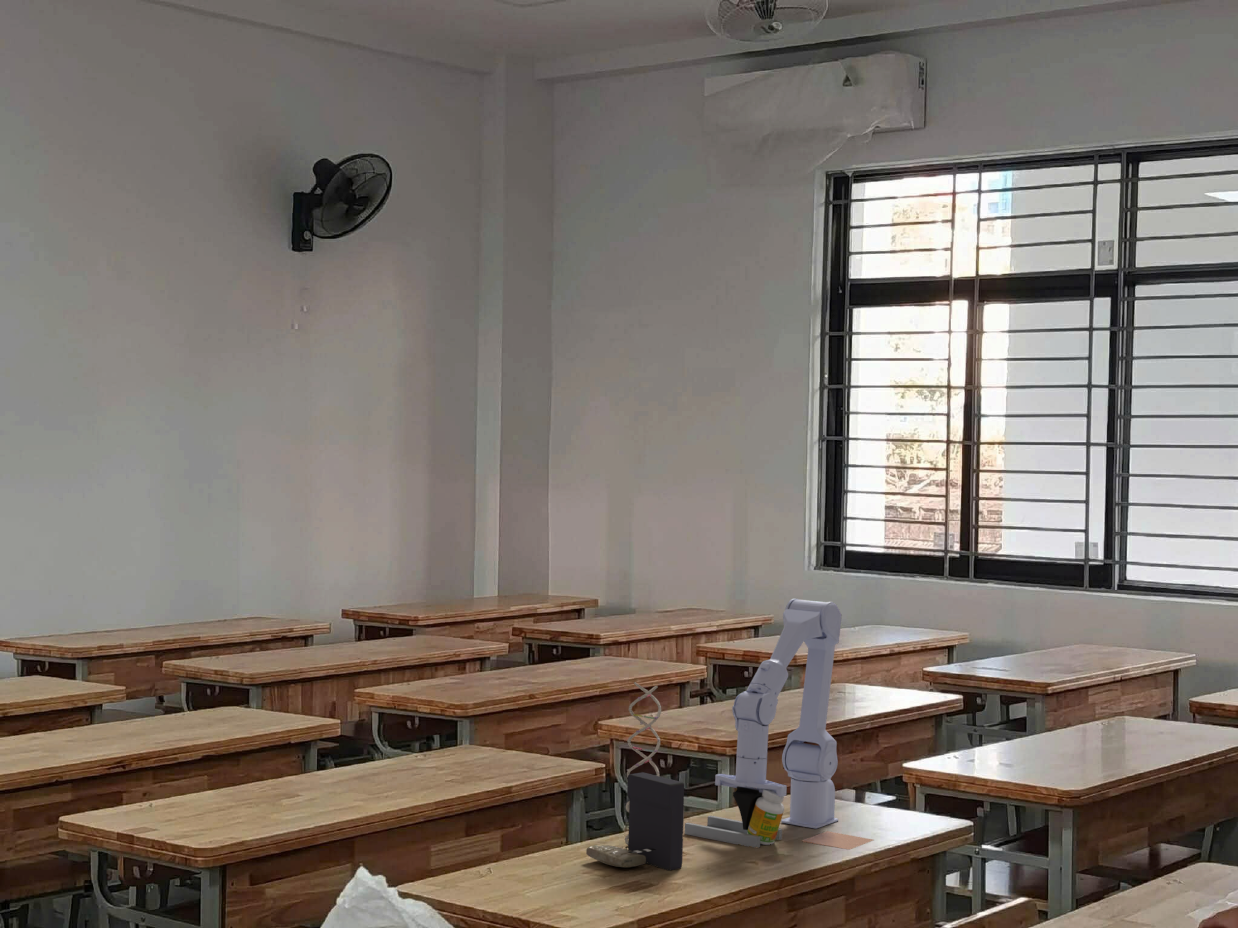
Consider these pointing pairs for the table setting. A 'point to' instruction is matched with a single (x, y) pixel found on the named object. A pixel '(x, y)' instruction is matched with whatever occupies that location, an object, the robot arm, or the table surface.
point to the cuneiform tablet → (617, 855)
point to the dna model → (647, 726)
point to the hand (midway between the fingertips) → (748, 829)
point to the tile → (837, 840)
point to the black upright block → (656, 819)
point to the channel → (725, 831)
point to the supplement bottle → (766, 817)
